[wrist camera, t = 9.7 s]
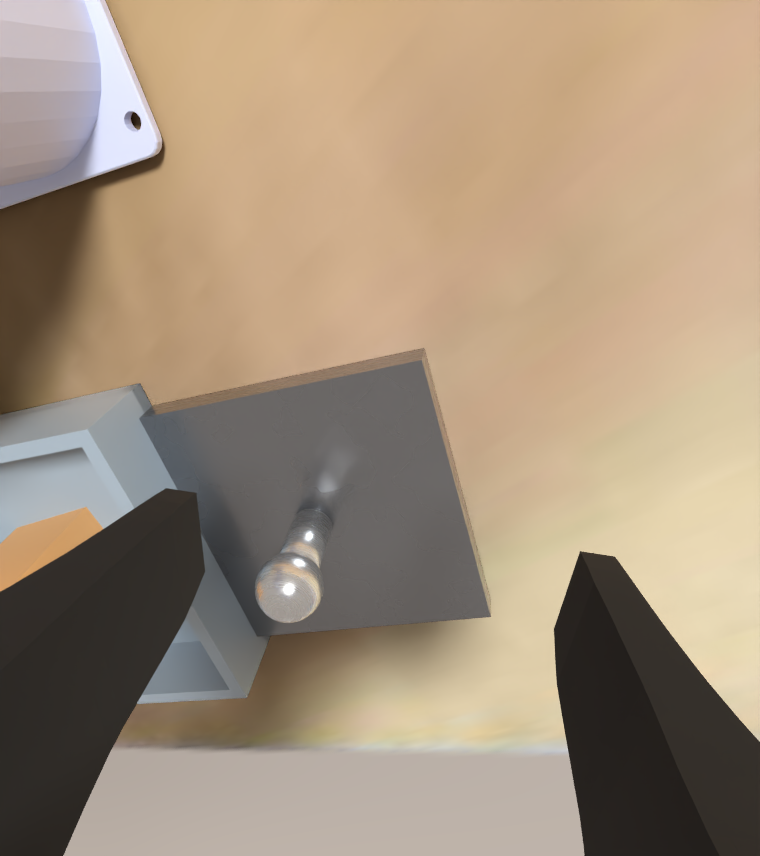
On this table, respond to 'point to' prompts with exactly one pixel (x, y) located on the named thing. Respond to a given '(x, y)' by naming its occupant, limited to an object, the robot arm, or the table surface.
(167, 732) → the table surface
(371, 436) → the stud plate
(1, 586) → the orange rectangular block
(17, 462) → the slate bin
